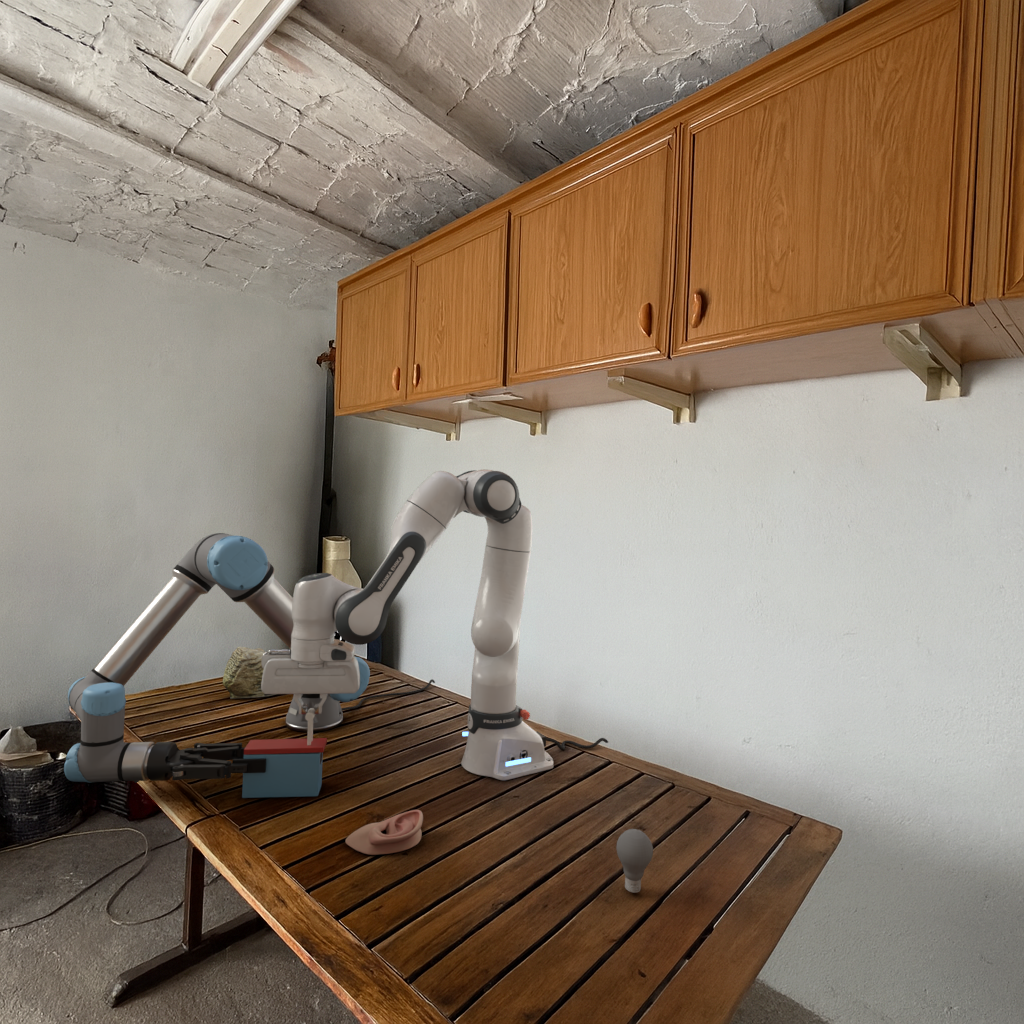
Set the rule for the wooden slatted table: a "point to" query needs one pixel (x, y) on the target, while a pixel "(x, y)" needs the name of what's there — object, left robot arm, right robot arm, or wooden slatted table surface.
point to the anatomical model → (388, 834)
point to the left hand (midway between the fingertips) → (268, 759)
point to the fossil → (244, 673)
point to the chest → (285, 776)
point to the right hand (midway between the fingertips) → (310, 713)
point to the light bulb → (634, 857)
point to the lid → (289, 742)
